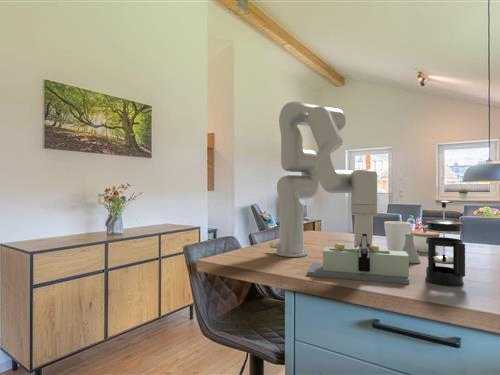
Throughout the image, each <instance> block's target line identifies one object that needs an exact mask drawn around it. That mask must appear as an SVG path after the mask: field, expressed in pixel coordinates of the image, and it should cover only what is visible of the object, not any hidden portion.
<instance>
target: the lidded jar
mask: <svg viewBox="0 0 500 375" xmlns="http://www.w3.org/2000/svg"><path fill="white" fill-rule="evenodd" d="M410 234H414V236H413V241H414V245H415V248H416V251H417V252H421V253H428V244H427V243H426V238H428V237H441V236H440V233H439V232H438V231H432V230H430V231H429V230H428V231H427V228H423V229H422V230H413V231H410ZM437 248H438V246H436V249H437Z"/></svg>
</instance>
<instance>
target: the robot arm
mask: <svg viewBox="0 0 500 375" xmlns="http://www.w3.org/2000/svg"><path fill="white" fill-rule="evenodd" d="M278 116H279V117H278V124H279V125H278V126H279V131H280V137H281V138H280V140H281V141H280V149H281V150H280V163H281V168H282V170H283V171H285V172H290V173H292V172H293V173H301V175H297V174H296V175H295V174H292V175H291V174H288V175H283V176H281V177H280V178H279V179H278V181H277V184H276V192H277V196H278V205H279V206H278V207H279V209H278V210H279V215H278V216H279V241H278V242H270V243H269V249H276V250H275V254H276V255H277V256H280V257H287V258H299V257H306V256H307V255H308V250H306V249H304V208H303V205H302V203H301V201H300V200H304V199H305V200H307V199H308V200H309V199H313V198H314V197H316V195H317V194H318V192H319V184H320V186H321V188H322V189H323V190H324V191H325V192H327V193H329V194H350V197H351V199H350V200H351V201H350V202H351V205H350V206H351V212H350V214H351V215H352V216H354V224H353V226H354V227H353V228H354V231H353V233H354V236H353V237H354V238H353V239H354V240H353V241H354V246H353V247H354V249H359V257H358V270H359V271H365V272H369V271H370V258H369V249H370V248H371V246H372V245H373V244H372V243H373V236H374V234H373V233H374V229H373V228H374V217H375V216H378V173H377V171H376V170H374V169H356V170H355V169H354V170H351V169H335V167H334V165H333V162H332V159H331V154H333V153H334V152H336V151H337V150H339V149H340V148H341V146H342V145H343V143H344V142H343V138H342V136H341V133H340V131H342V130H343V129H344V127H345V126H346V115H345V113H344V112H343V110H341V109H339V108H335V107H330V106H329V107H328V106H324V105H320V104H319V105H318V104H313V103H307V102H301V101H290V102H287V103H286V104H284V105H283V106H282V108H281V110H280V113H279V115H278ZM299 125H300V126H304V127H305V126H307V127H309V128H310V130H311V134H312V135H313V138H314V141H315V143H316V145H317V148H318V149H317V150H318V151H317V153H316V152H315V151H314V150H312V149H309V148H308V149H307V148H303V134H302V132H301V130H300V128H299V127H298V126H299Z"/></svg>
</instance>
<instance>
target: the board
mask: <svg viewBox="0 0 500 375" xmlns="http://www.w3.org/2000/svg"><path fill="white" fill-rule="evenodd" d="M334 248H336V249H337V250H338V251H342V249H344V248H345V243H334ZM369 250H371V252H373V253H376V251H378V250H380V246H379V245H376V244H372V246H371V248H370V249H369ZM307 277H318V278H329V279H330V278H331V279H343V280H353V281H354V280H356V281H363V282H364V281H367V282H378V283H387V284H388V283H391V284H401V283H402V284H403V285H410V279H409V277H401V276H388V275H376V274H363V273H350V272H337V271H324V270H323V262H313V263H312V264H311V265H310V267H309V269H308V270H307ZM402 284H401V285H402Z"/></svg>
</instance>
